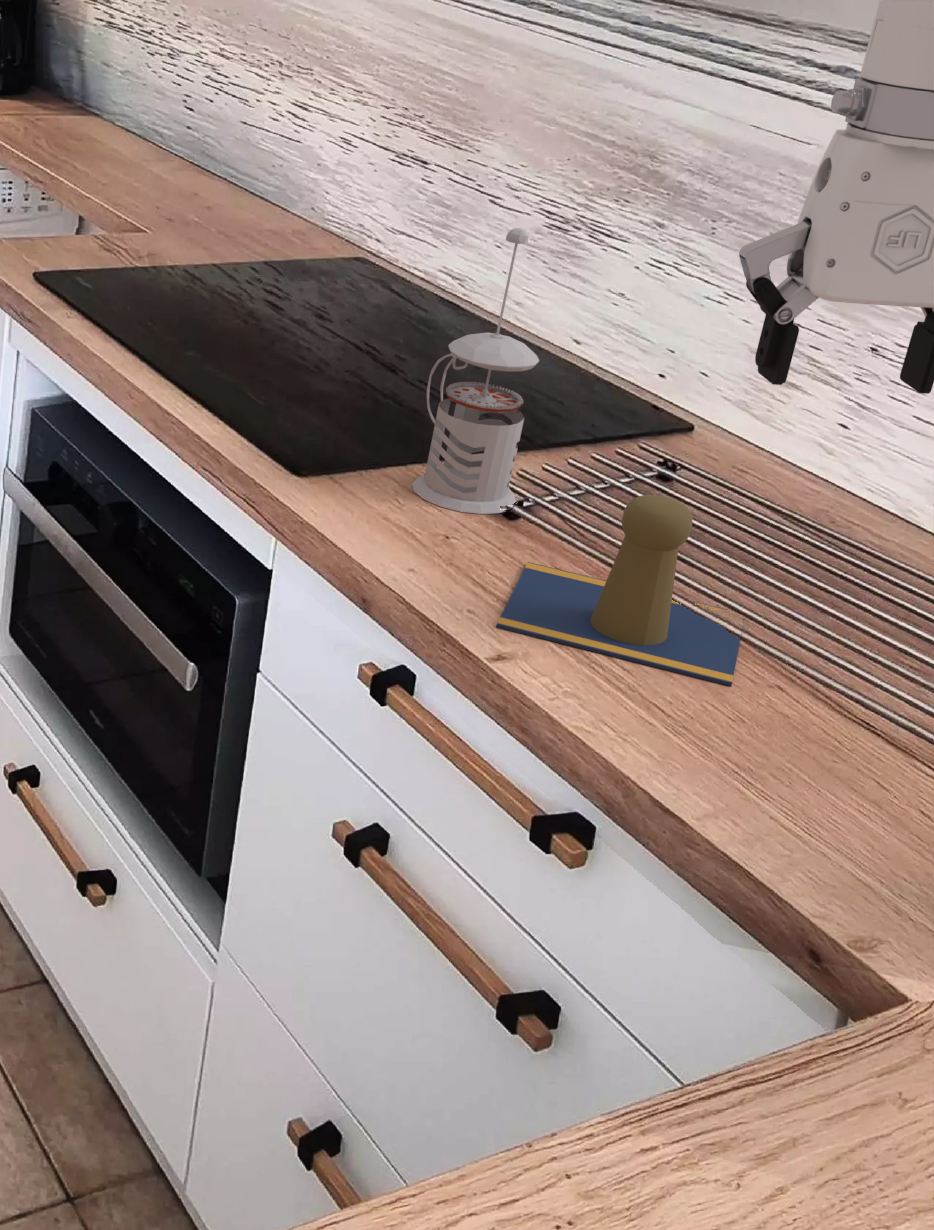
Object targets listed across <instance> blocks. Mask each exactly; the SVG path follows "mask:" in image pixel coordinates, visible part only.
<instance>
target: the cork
mask: <svg viewBox="0 0 934 1230" xmlns="http://www.w3.org/2000/svg"><path fill="white" fill-rule="evenodd" d="M692 528H693V515H692V512H691V510H690V508H689V507H688V506H686V505H685V504H684V503H682V502H681V501H679V500H678V499H675V498H671V497H668V496H664V495H659V494H644V495H643V494H642V495H640V496H636V497H634V498H632V500H631V501H629V502H628V503H627V504H626V506H625V508H624V509H623V514H622V518H621V529H622V531H623V533H624V537H623V540H622V543H621V545H620V547H619V549H618V551H617V554H616V557H615V558H614V559H615V560H614V562H613V564H612V566H611V569H610V572H609V573H608V576H607V578H606V583H605V586H604V588H603V590H602V593H601V595H600V598H599V600H598V602H597V605H596V607H595V610H594V612H593V614H592V617H591V621H590V622H591V624H592V626H593V627H594V628H595V629H596V630H597V631H598V632H599V633H601V634H603V635H605V636H607V637H609V638H611V639H614V640H617V641H620V642H624V643H628V644H634V645H656V644H659V643H662V642H664V641H665V640H666V639H667V634H668V626H669V618H670V610H671V602H672V596H673V594H674V593H673V592H674V587H675V586H674V585H675V580H676V579H675V578H676V570H677V562H678V553H679V548H680V547H681V546H682V545H684V544H685V543H686V542H687V541H688V539H689V537H690V535H691V532H692Z"/></svg>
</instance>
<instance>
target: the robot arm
mask: <svg viewBox="0 0 934 1230" xmlns="http://www.w3.org/2000/svg"><path fill="white" fill-rule="evenodd" d="M830 110H831V112H832V113H833V114H842V115H843V116H845V119H844V121H845V122H846V123H847V124H846V127H845V129H836V130H835V132H834V134H833V136H832V138H831V139H830V142H829V144H828V146H827V147H826V150H825V151H824V154H823V156H822V158H821V160H820V163H819V164H818V166H817V169H816V172H815V174H814V177H813V179H812V181H811V184H810V186H809V189H808V191H807V195H806V196H805V200H804V203H803V206H802V209H801V212H800V214H799V217H798V221H797V223H796V224H794V225H791V226H789V227H786V228H784V229H781V230H779V231H777V232H775V233H771V234H769V235H767V236H764V237H762V238H760V239H757V240H755V241H752V242H750V243H747V244H745V245H743V246H742V247H741V248H740V249H739V252H738V257H739V260H740V263H741V268H742V272H743V275H744V278H745V280H746V281H745V287H746V289H747V290H748V291H749V293H750V294H751V295H752V297H753V299H754V300H755V301H756V303H757V304H758V306H759V309H760V310H761V312H762V313H764V314H765V316H764V320H763V325H762V328H761V332H760V336H759V340H758V343H757V348H756V352H755V356H754V357H755V358H754V359H755V360H754V361H755V365H756V366H757V372H758V374H759V375H761V376H762V377H763V378H764V379H765V380H767V381H768V382H769V383H770V384H772V385H774V386H783V384H785V383H786V382H787V380H788V376H789V372H790V367H791V364H792V360H793V356H794V352H795V349H796V344H797V340H798V337H799V333H800V327H799V326H798V325H797V324H795V323H794V322H795V319H796V317H799V315H800V314H801V313H803V312H804V311H805V310H806V309H807V308H808V307H810V306H811V305H812V304H813V303H814V302H816V301H817V300H818V299H822V300H824V301H828V302H833V303H844V304H845V303H846V304H858V305H861V304H862V305H875V306H876V305H877V306H892V307H906V308H907V307H909V308H910V307H911V308H912V307H913V308H920V309H921V311H922V313H923V316H924V317H925V318H924V320H923V321H917V322H916V324H915V325H914V326H913V329H912V332H911V336H910V339H909V343H908V346H907V350H906V353H905V357H904V360H903V364H902V367H901V370H900V373H899V379H900V381H902V382H903V383H904V384H905V385H907V386H909V387H910V388H912V390H914V391H916V392H917V393H919V394H925V395H927V394H930V393H931V392H932V390H933V386H934V0H879V1H878V4H877V8H876V12H875V16H874V20H873V24H872V28H871V31H870V35H869V39H868V43H867V46H866V51H865V54H864V59H863V62H862V66H861V69H860V73H859V78H855V81H854V84H853V87H852V88H849V89H848V90H836V91H835V92H834V94H833V96H832V99H831V101H830ZM787 255H788V257H787V263H786V274H787V277H786V278H785V279H784V280H783V281H782V282H780V283H779V284H778V285H777V286H776V285H775V284H774V281H772V279H771V275H770V274H771V272H770V265H771V263H772V262H773V261H775V260H778V259H780V258H782V257H784V256H787Z"/></svg>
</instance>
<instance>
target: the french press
mask: <svg viewBox="0 0 934 1230" xmlns="http://www.w3.org/2000/svg"><path fill="white" fill-rule="evenodd" d="M505 241H506V242H508V243H511V244H514V247H513V252H512V256H511V262H510V265H509V266H510V268H509V271H508V275H507V280H506V285H505V291H504V296H503V298H502V299H503V300H502V305H501V310H500V314H499V319H498V324H497V328H496V332H489V331H488V332H487V331H486V332H480V333H471V334H466V335H464V336H462V337H459V338H457V339H454V340H452V341H451V342H450V343H449V344H448V346H447V347H448V349H449V351H450V353H448V354H445V355H443V356H441V357H440V358H438V359H437V361H436V362H435V364H434V365H433V367H432V368H431V370H430V374H429V375H428V381H427V386H426V387H427V388H426V407H427V411H428V415H429V417H430V420H431V421H432V423H433V424H434V427H433V432H432V437H431V442H430V448H429V452H428V457H427V463H426V467H425V472H423V474H421V475H419V476H418V477H417V478H415V480H414V481H413V482H412V483H411V486H412V490H413V492H414V493H415V494H416V495H418V496H419V497H420V498H421V499H423V500H425V501H426V502H429V503H430V504H433V505H435V506H438V507H440V508H444V509H448V510H452V511H456V512H460V513H467V514H468V513H469V514H479V515H489V514H490V515H491V514H501V513H504V512H505V511H501V510H500V506H506V505H512V504H514V503H515V502H516V501H517V499H516V497H515V494H514V492H513V491H512V490H511V489H510V481H511V480H512V476H513V471H512V470H513V469H514V467H515V457H516V456H517V455H518V443H519V442H520V440H521V435H522V431H523V427H524V422H525V417H524V414H523V412H521V411H520V410H519V409H520V408H521V407H522V406H523V405H524V404H525V401H524V398H523V397H522V396H521V395H520V393H518V392H515V391H514V390H511V389H508V388H507V387H506V388H505V387H502V385H501V386H498V385H496V386H495V384H489V383H490V378H491V373H492V371H499V372H524V371H529V370H532V369H534V367H535V366H537V364H538V363H539V362H540V358H539V356H538V354H536V353H535V352H534V351H533V350H532V349H531V348H530V347H529V346H528V345H526V343H524V342H522V341H520V340H518V339H516V338H514V337H511V336H509V335H505V334H504V335H503V334H501V333H500V330H501V327H502V326H501V325H502V320H503V316H504V311H505V306H506V301H507V298H508V297H507V296H508V292H509V288H510V283H511V277H512V273H513V272H512V271H513V269H514V262H515V258H516V254H517V249H518V245H526V244H527V243H528V242H529V234H528V232H527V230H526V229H524V228H520V227H514V228H512V229H510V230H509V231H507V234H506V237H505ZM450 357H452V358H451V360H450V361H449V362H448V364H447V365H446V367H445V368H444V371H443V373H442V379H441V382H440V387H439V394H440V402H439V403H438V406H437V412H436V415H435V417H434V415H433V413H432V410H431V405H430V391H431V390H430V388H431V384H432V383H431V382H432V377H433V374H434V372H435V370H436V369H437V367H438V366H439V364H440V363H441V362H442V361H444V360H445V359H446V358H450ZM457 359H458V360H459V361H461V362H464V363H465V364H464V365H462V366H456V362H457ZM469 364H470V365H471V366H476V367H478V368H482V369H486V370H488V371H487V376H486V381H485V383H484V382H482V383H481V382H477V381H462V382H461V381H459V382H454V383H451V384H449V385H448V386H447V387H446V388H444V387H445V381H446V376H447V372H448V370H449V368H450V366H451V365H452V369H454V370H455V371H458V370H463V369H466V368H468V365H469ZM444 392H445V394H446V397H447V398H445V399H444ZM451 402H453V403H455V407H454V413H453V416H452V415H450V414H449V410H450V406H451ZM489 413H490V414H501V415H503V416H505V417H506V418H508V419H509V420H511V424H508V423H505V422H504V421H503V420H501V419H492V418H485V419H480V420H479V418H480V415H485V414H489ZM446 430H447V431H448V432H449V436H447V435H446V433H445V431H446ZM443 443H444V444H445V445H446V450H445V449H444V448H443V446H442V445H443ZM440 456H441V457H442V458H443V459H444V461H443V462H442V461H441V460H440Z"/></svg>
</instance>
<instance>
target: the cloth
mask: <svg viewBox="0 0 934 1230" xmlns="http://www.w3.org/2000/svg"><path fill="white" fill-rule="evenodd" d="M606 581H607V579H601V578H597V577H592V576H589V575H585V574H580V573H577V572H576V573H575V572H572V571H568V570H563V569H559V568H555V567H550V566H546V565H542V564H538V563H535V562H534V563H533V562H529V561H527V562H526V565H525V567H524V568H523V570H522V572H521V574H520V577H519V579H518V581H517V582H516V585H515V586H514V588H513V590H512V593H511V595H510V597H509V599H508V601H507V603H506V605H505V606H504V609H503V611H502V613H501V615H500V617H499V618H498V621H497V623H496V625H495V627H496V628H497V629H501V630H506V631H511V632H514V633H518V634H522V635H525V636H529V637H534V638H538V639H542V640H546V641H549V642H552V643H553V642H554V643H558V644H562V645H566V646H569V647H574V648H577V649H581V650H586V651H590V652H593V653H598V654H601V655H604V656H610V657H613V658H617V659H621V660H625V661H629V662H634V663H638V664H640V665H644V666H649V667H653V668H657V669H660V670H665V671H667V672H668V671H669V672H673V673H676V674H680V675H685V676H688V677H693V678H696V679H699V680H705V681H708V682H711V683H716V684H720V685H725V686H728V687H732V685H733V681H734V675H735V669H736V665H737V660H738V655H739V648H740V643H741V639H740V638H737V637H736V636H735V635H733V634H731V633H729V632H728V631H726V630H725V629H724V628H723V627H722V626H720V625H718V624H716V623H715V622H713V621H710V620H708V619H707V618H703V617H701V616H699V615H697V614H695V613H694V612H692V611H691V610H690V609H687V608H686V607H684V606H682V605H681V603H680V604H679V603H678V602H675V601H673V600H672V602H671V610H670V618H669V626H668V634H667V639H666V640H665V641H664V642H662V643H659V644H656V645H634V644H628V643H624V642H620V641H617V640H614V639H611V638H609V637H607V636H605V635H603V634H601V633H599V632H598V631H597V630H596V629H595V628H594V627H593V626H592V624H591V622H590V621H591V617H592V614H593V612H594V610H595V607H596V605H597V602H598V600H599V598H600V595H601V593H602V590H603V588H604V586H605V583H606ZM690 601H691V602H695V601H694V600H690ZM696 602H697V601H696ZM695 605H696V603H695ZM697 605H702V607H704V605H705V607H709V609H710V607H711V610H712V608H713V610H726V611H727V610H729V611H730V610H731V609H727V608H722V607H719V606H714V605H710V604H706V603H701V602H697ZM707 605H708V606H707ZM714 608H715V609H714ZM732 611H733V612H732ZM734 611H735V610H731V611H730V613H735V612H734Z"/></svg>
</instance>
